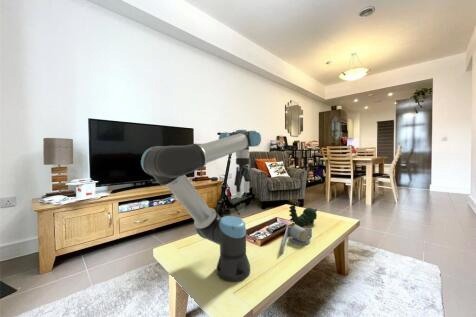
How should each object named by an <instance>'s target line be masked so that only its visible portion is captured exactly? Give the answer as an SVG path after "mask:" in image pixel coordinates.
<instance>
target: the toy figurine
mask: <svg viewBox="0 0 476 317" xmlns="http://www.w3.org/2000/svg"><path fill="white" fill-rule="evenodd" d="M298 205H301V202H300V201H293V203H292V205H290V206H289V210H288V211H289V217H291V218H289V221H290V222H292V223H293V222H295V224H294V225H298V226H299V227H302V228H305V226H306V225H307V226H308V225H310V224H313V223H315V220H317V219H318V218H317V215H318V214H317V211H318V208H315V209H314V208H313V207H307V208H305V209H303V211H302V213H301V214H300V215H299V216H298V213H297V208H296V206H298ZM305 224H306V225H305Z"/></svg>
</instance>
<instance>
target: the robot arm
mask: <svg viewBox="0 0 476 317" xmlns="http://www.w3.org/2000/svg"><path fill="white" fill-rule="evenodd" d="M261 143H262V135H261V133H260V132H259V131H258V130H247V129H236V131H235V132H228V131H225V132H221V133H220V134H219V136H218V138H217V139H216V140H211V141H209V142H205V143H201V144H197V143H191V144H187V145H164V146H162V145H157V146H156V145H155V146H152V147H149V148H148V149H146V150H145V151H144V152H143V154H142V156H141V160H140V165H141V168H142V170H143V171H144V172H145V173H146V175H149V176H152V177H153V178H154V179H155V181H156V182H157V183H158V184H159V185H160V186H163V187H165V186H166V187H167V189H168V190H169V191H170V192H171V193H172V195H173V196H174V197H175V198H176V200H177V201H178V202H179V203H180V205H181V206H182V207H183V208H184V209H185V211H186V212H187V213H188V214H189V215H190V217H191V218H192V220H194V221H193V225H194V228H195V231H196V234H197V235H198V236H199V237H201V238H203V239H204V240H208V241H210V242H212V243H215V244H216V245H219V258H218V261H217V264H216V275H217V277H218V278H219V279H220V280H222V281H225V282H228V283H229V282H230V283H231V282H233V283H234V282H240V281H243V280H246V279H247V278H248V277H249V276H250V274H251V265H250V264H251V263H250V261H249V258H248V256H247V229H246V222H245V221H244V220H243V219H242V218H241V217H239V216H234V215H233V216H231V215H226V216H223V217H221V216H220V215H219V214H218V213H217V211H216V210H215V208H211V207H209V206H208V204H207V203H206V201H205V200H204V199H203V197H202V196H201V195H200V193H199V192H198V190H197V189H196V188H195V186H194V185H193V184H192V182H191V181H190V179H189V177H187V176H186V175H188V174H190V173H193V172H196V171H198V170H200V169H202V168H204V167H205V166H206V164H208V163H210V162H213V161H216V160H218V159H221V158H224V157H226V156H229V155H232V154H234V153H235V157H236V158H235V164H236V165H237V166H236V170H235V171H236V173H235V177H234V183H233V185H234V186H235V189H236V190H235V193H236V195H235V197H236V198H237V199H241V198H242V181H243V179H244V182H243V183H244V184H243V185H244V189H243V190H244V193H250V182H251V176H250V170H249V164H250V154H251V151H250V148H251V147H252V148H253V147H259V146H260V144H261Z"/></svg>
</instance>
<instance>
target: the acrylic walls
mask: <svg viewBox="0 0 476 317" xmlns="http://www.w3.org/2000/svg"><path fill="white" fill-rule="evenodd" d="M292 227H293V226H291V225H290V226H289V225H287V226H286V228H285V229H286V230H285V233H284V236H283V238H282V243H281V254H283V255H284V253H285V248H286V244H287V240H288V236H289V235H291V234H290V232H291V228H292ZM302 228H303V229H305V230H306V231H307V232H308V234H309V236H310V237H309V238H312V237H313V228H312V227H311V228H309V227H302Z"/></svg>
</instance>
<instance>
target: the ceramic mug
mask: <svg viewBox="0 0 476 317" xmlns="http://www.w3.org/2000/svg"><path fill="white" fill-rule="evenodd" d="M303 228H304V227H302V226H298V225H297V224H293V226H292V228H291V232H290V234H289V235H290V236H291V237H293V238H295V239H297V240H299V241H301V242H305V241H306V240H307V239H310V238H311V237H310V236H309V234H308V232H307V231H306V230H305V229H303Z"/></svg>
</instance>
